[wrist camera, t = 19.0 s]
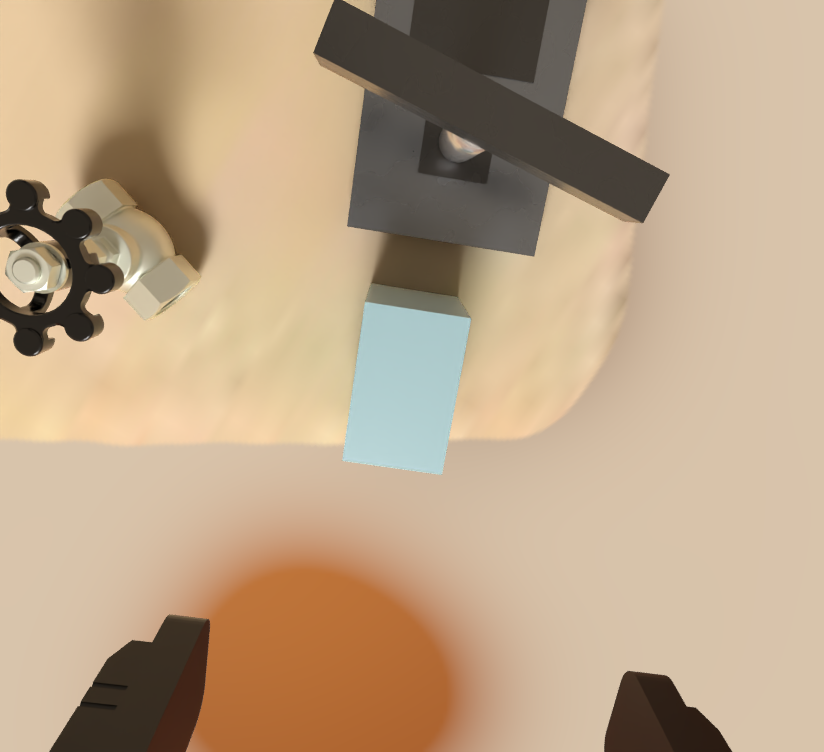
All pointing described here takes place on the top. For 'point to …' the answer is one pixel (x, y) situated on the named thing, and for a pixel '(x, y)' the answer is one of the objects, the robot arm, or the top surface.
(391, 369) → the light blue block
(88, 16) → the top surface
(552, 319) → the top surface
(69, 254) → the valve
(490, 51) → the housing
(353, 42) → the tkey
